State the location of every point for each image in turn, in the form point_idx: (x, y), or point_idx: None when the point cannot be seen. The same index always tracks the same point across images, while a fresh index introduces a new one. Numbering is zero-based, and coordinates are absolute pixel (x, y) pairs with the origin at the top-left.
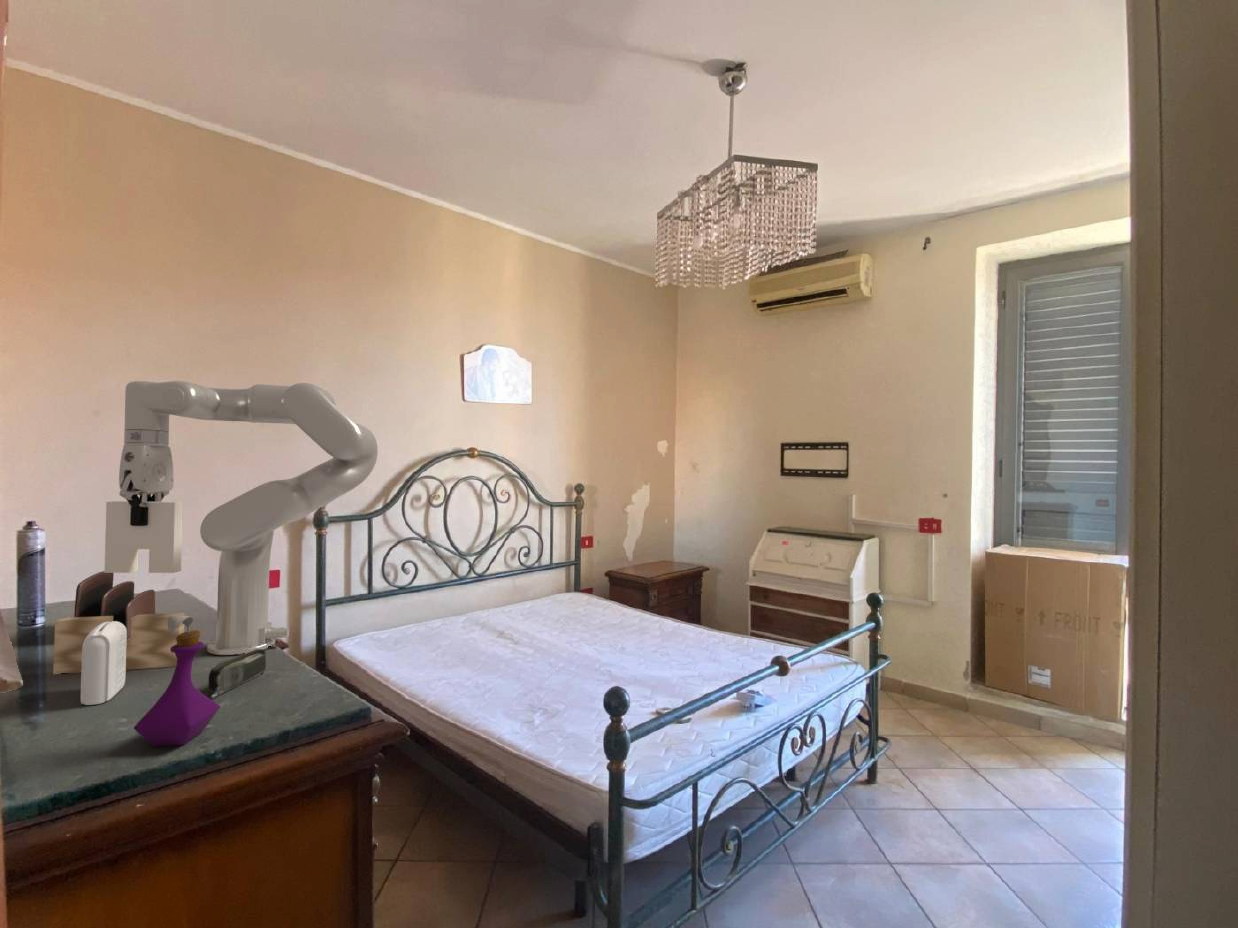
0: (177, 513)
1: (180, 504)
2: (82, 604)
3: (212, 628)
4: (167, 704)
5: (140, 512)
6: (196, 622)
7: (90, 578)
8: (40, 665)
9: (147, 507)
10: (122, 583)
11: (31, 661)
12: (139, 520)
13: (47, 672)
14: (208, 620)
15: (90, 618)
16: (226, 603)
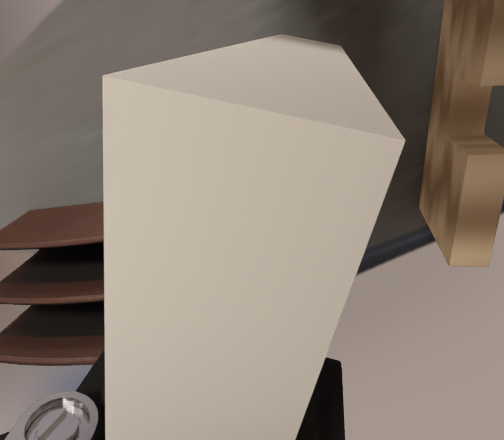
0: (306, 77)
1: (205, 83)
2: None
3: (101, 34)
4: None
5: (335, 424)
6: (47, 106)
7: None
8: (367, 256)
9: (300, 436)
10: (47, 300)
11: None
12: (340, 363)
13: (426, 224)
14: (25, 84)
15: (486, 199)
16: None
